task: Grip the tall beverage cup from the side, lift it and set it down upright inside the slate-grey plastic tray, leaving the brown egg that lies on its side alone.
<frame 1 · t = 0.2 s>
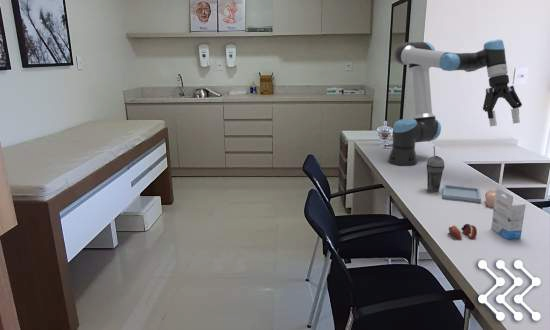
hand: (505, 124, 169), 27 cm above the table, tool tilted 15°, fingers open, 13 cm apart
ink box: (505, 234, 128), on the table
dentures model: (461, 236, 127), on the table
brown egg: (492, 204, 153), on the table
beverage cup: (433, 191, 169), on the table
tray: (461, 195, 163), on the table
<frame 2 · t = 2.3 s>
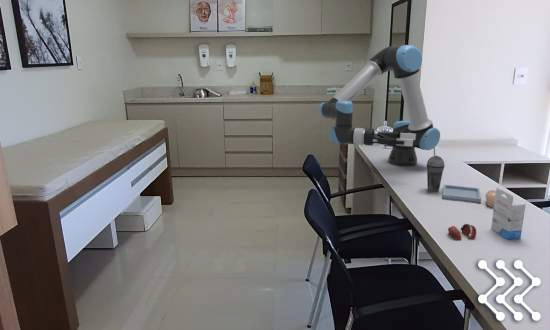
hand: (414, 139, 167), 22 cm above the table, tool horizontal, fingers open, 13 cm apart
nothing on the table moved.
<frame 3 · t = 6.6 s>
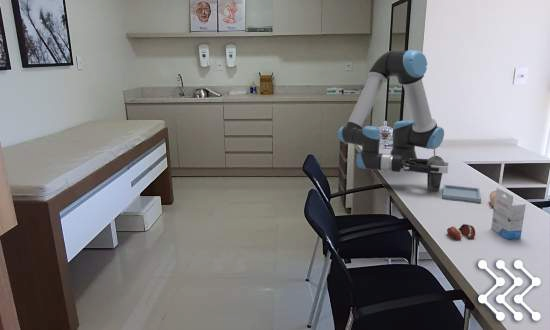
hand: (447, 167, 165), 11 cm above the table, tool horizontal, fingers closed on beverage cup, 7 cm apart
brown egg: (492, 203, 153), on the table, tilted 37°
beverage cup: (433, 191, 169), on the table, touching gripper
everything else where it was.
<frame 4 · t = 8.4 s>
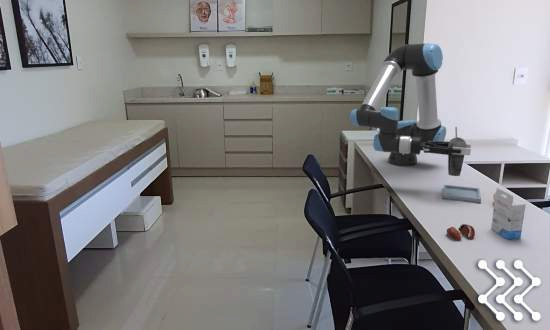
hand: (470, 149, 157), 20 cm above the table, tool horizontal, fingers closed on beverage cup, 7 cm apart
brown egg: (494, 201, 152), point 1 cm above the table, tilted 68°
beverage cup: (454, 174, 162), point 9 cm above the table, touching gripper
everything else where it was.
when the fingers open (13 cm above the table, at t = 10.3 s): beverage cup drops 1 cm, resting on tray.
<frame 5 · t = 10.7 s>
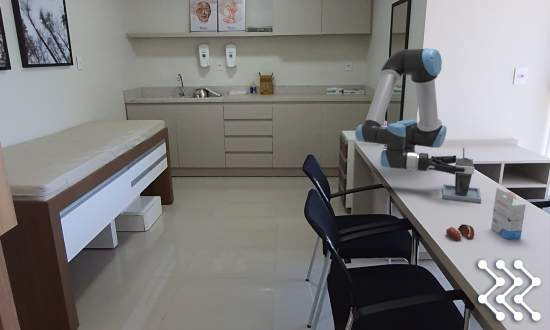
hand: (473, 166, 158), 13 cm above the table, tool horizontal, fingers open, 13 cm apart
brown egg: (503, 196, 150), point 4 cm above the table, tilted 129°
beverage cup: (461, 194, 163), resting on tray
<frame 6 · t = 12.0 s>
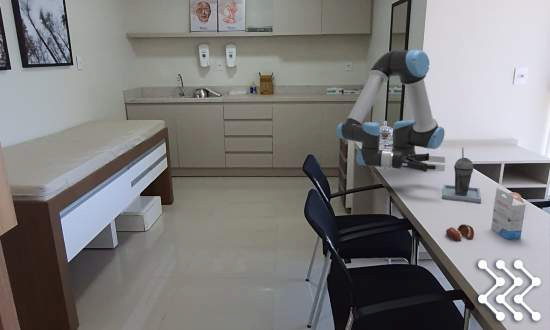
hand: (444, 163, 163), 13 cm above the table, tool horizontal, fingers open, 13 cm apart
brown egg: (515, 195, 148), point 5 cm above the table, tilted 176°
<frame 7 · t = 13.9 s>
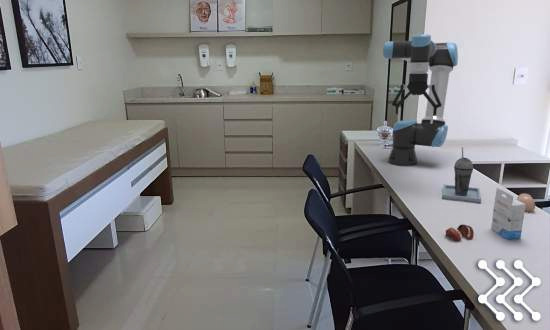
hand: (414, 122, 171), 29 cm above the table, tool pointing down, fingers open, 13 cm apart
brown egg: (533, 202, 147), point 3 cm above the table, tilted 101°
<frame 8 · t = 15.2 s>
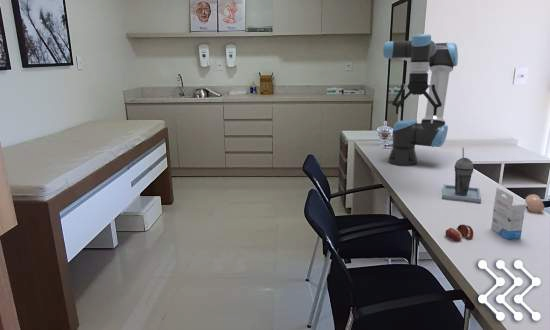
hand: (415, 122, 171), 29 cm above the table, tool pointing down, fingers open, 13 cm apart
brown egg: (538, 209, 146), on the table, tilted 37°
at the end: beverage cup inside the target area on the tray (0.1 cm from its centre), point 0.4 cm above the tray's base; beverage cup tilted 0°; the gripper is holding nothing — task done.
